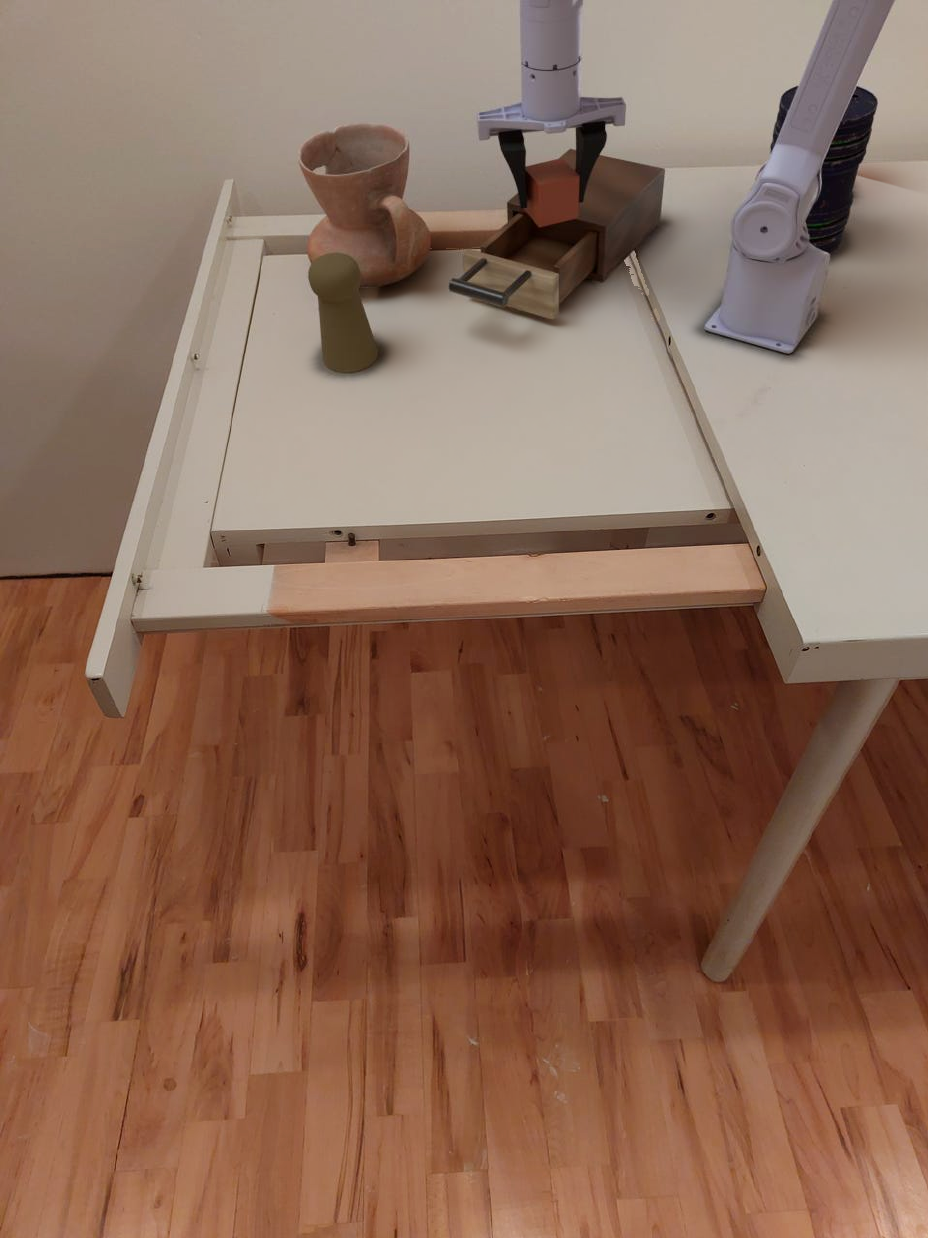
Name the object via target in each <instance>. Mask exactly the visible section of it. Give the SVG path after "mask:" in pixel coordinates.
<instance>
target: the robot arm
mask: <svg viewBox="0 0 928 1238" xmlns="http://www.w3.org/2000/svg"><path fill="white" fill-rule="evenodd" d="M895 3H896V0H832V1H831V4H830V6H829V9H828V11H827V14H826V16H825V19H824V21H823V24H822V26H821V29H820V31H819V33H818V36H817V39H816V41H815V44H814V46H813V48H812V51H811V53H810V57H809V58H808V61H807V63H806V66H805V69H804V71H803V74H802V76H801V79H800V81H799V84H798V85H797V86H798V89H797V91H796V94H795V96H794V99H793V101H792V104H791V106H790V109H789V111H788V114H787V116H786V119H785V121H784V124H783V126H782V129H781V131H780V134H779V136H778V139H777V141H776V143H775V146H774V148H773V150H772V152H771V154H770V153H769V157H768V158H767V160H766V161H765V162H764V163H763V164H762V165H761V166H760V168H759V170H758V172H757V174H756V177H755V179H754V182H753V184H752V185H751V187H750V188H749V191H748V193H747V194H746V196H745V198H744V199H743V201H742V202H741V203H740V204H739V205H738V207H737V208H736V210H735V212H734V213H733V215H732V218H731V223H730V231H731V243H730V250H729V255H728V262H727V268H726V275H725V280H724V287H723V292H722V297H721V303H720V305H719V307H718V308H717V309H716V310H715V311H714V313H713V314H712V315H711V317H710V318H709V319H708V320H707V322H705V324H704V327H703V329H704V331H706V332H710V333H713V334H717V335H721V336H723V337H727V338H730V339H734V340H738V341H742V342H745V343H749V344H753V345H755V346H760V347H761V348H762V347H763V348H766V349H770V350H773V351H777V352H781V353H784V354H791V353H793V352H794V350H795V349H796V348H797V346H798V345H799V343H800V342H801V340H802V339H803V338H804V336H805V335H806V333H807V332H808V330H809V329H810V328H811V326H812V324H813V323H814V322H815V320H816V319H817V318H818V315H819V312H818V311H819V307H820V302H821V299H822V295H823V290H824V287H825V283H826V280H827V275H828V271H829V268H830V262H831V254H829V253H827V252H825V251H822V250H820V249H818V248H816V247H815V246H813V245H812V244H811V243H810V242H809V238H810V237H809V234H808V229H807V226H806V222H805V220H806V218H807V216H808V214H809V212H810V210H811V208H812V206H813V205H814V203H815V202H816V201H817V199H818V196H819V194H820V191H821V185H822V181H821V168H822V164H823V161H824V159H825V157H826V154H827V152H828V150H829V147H830V144H831V142H832V140H833V137H834V135H835V133H836V131H837V129H838V126H839V124H840V122H841V120H842V117H843V115H844V113H845V111H846V109H847V106H848V104H849V102H850V100H851V98H852V95H853V93H854V91H855V89H856V86H857V84H858V83H859V82H860V80H861V77H862V75H863V74H864V71H865V69H866V66H867V64H868V62H869V60H870V57H871V56H872V54H873V51H874V49H875V47H876V44H877V42H878V40H879V38H880V35H881V33H882V31H883V29H884V27H885V24H886V22H887V20H888V18H889V16H890V13H891V11H892V9H893V7H894V5H895ZM583 17H584V0H519V34H520V35H519V36H520V39H519V40H520V41H519V43H520V80H521V81H520V85H521V87H520V88H521V101H520V102H517V103H513V104H510V105H506V106H505V105H504V106H502V107H498V108H494V109H490V110H484V111H477V112H476V124H477V125H476V127H477V135H478V136H477V137H478V140H479V141H488V140H490V139H491V137H497V138H498V144H499V148H500V151H501V153H502V154H501V155H502V156H503V158H504V159H505V161H506V163H507V165H508V168H509V170H510V173H511V175H512V177H513V180H514V183H515V187H516V189H517V193H518V199H519V204H520V208H521V209H522V208H527V192H526V181H525V168H526V166H527V165H526V163H527V161H526V160H527V148H526V146H525V137H524V135H523V134H527V133H528V134H529V133H537V132H544V133H545V134H548V135H550V134H552V135H553V134H559V133H565V132H566V131H567V130H568V129H575V150H576V166H575V171H576V172H577V173H578V175H579V176H580V177H579V203H580V202H583V201H584V195H585V191H586V187H587V184H588V180H589V177H590V175H591V172H592V169H593V167H594V165H595V163H596V161H597V159H598V157H599V155H601V153H602V151H603V150H604V148H605V146H606V144H607V139H608V133H607V130H606V125H612V126H614V127H624V126H625V125H626V115H627V114H626V113H627V104H626V101H625V99H624V97H622V96H620V97H619V96H618V97H593V96H592V97H591V96H581V92H582V91H581V90H582V89H581V87H582V86H581V85H582V54H583V53H582V52H583V22H584V21H583Z"/></svg>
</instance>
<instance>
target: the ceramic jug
mask: <svg viewBox="0 0 928 1238" xmlns="http://www.w3.org/2000/svg"><path fill="white" fill-rule="evenodd" d="M297 153H298V154H297V161H298V164H299V167H300V170H301V173H302V175H303V177H304V180H305V182H306V184H307V185H308V188H309V189H310V192H312V194H313V196H314V198H315V200H316V202H317V203H318V204H319V206H320V208H321V209H322V211H323V212H324V214H325V216H324V217H323V218H322V219H321V220H320V221H319V222H318V223H317V224H316V225H315V226H314V227H313V229H312V230H311V233H310V235H309V237H308V240H307V246H306V253H307V256H308V259H309V262H310V265H311V264H312V262H313V261H314V260H315V259H317V258H318V257H320V256H322V255H325V254H329V253H343V254H347V255H349V256H351V257H352V258H353V259H354V260H355V261H356V262H357V264H358V266H359V269H360V272H361V283H360V287H359V288H358V289H366V288H378V287H383V286H387V285H391V284H395V283H397V282H400V281H402V280H404V279H406V278H408V277H409V276H410V275H411V276H412V274H414V273H415V272H416V271H417V270H418V269H419V268H420V267H421V266H422V265H423V264H424V262H425V261H426V260H427V258H428V256H429V253H430V251H431V247H432V246H431V245H432V237H431V233H430V229H429V227H428V225H427V223H426V222H425V220H424V219H423V218H422V216H420V215H419V214H418V213H417V212H416V211H414V210H412V209H411V208H410V207H409V206H408V204H407V202H406V201H405V200H403V198H404V195H405V192H406V191H405V190H406V186H407V181H408V176H409V167H410V166H409V165H410V140H409V137H408V135H407V134H406V133H405V132H404V131H403V130H402V129H401V128H398V127H396V126H393V125H391V124H390V125H389V124H387V123H379V122H378V123H376V122H353V123H346V124H341V125H338V126H335V127H334V128H333V130H332V131H331V130H327V129H323V130H321V131H319V132H317V133H315V134H313V135H312V136H310V137H309V138H307V139H306V140H305V141H304V142H303V143H302V144H301V146H300V147H299V149H298V152H297ZM322 167H324V168H325V171H324V173H319V172H316V171H315V170H316V169H319V168H322Z"/></svg>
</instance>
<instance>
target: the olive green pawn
mask: <svg viewBox="0 0 928 1238" xmlns="http://www.w3.org/2000/svg"><path fill="white" fill-rule="evenodd" d="M307 273H308V275H307V279H308V283H309V285H310V288H311V291H312V292H313V293H314V294H315V295H316V296H317V302H318V317H319V329H320V331H319V332H320V344H321V355H322V362H323V365H324V366H325V367H326V368H327V369H329V370H330V371H333V372H335V373H341V374H351V373H356V372H361V371H362V370H365V369H367V368H369V367H370V366H372V365H373V364H374V363H375V362H376V361H377V359H378V358H379V350H378V346H377V343H376V340H375V337H374V333H373V331H372V328H371V325H370V321H369V318H368V316H367V313H366V310H365V306H364V303H363V301H362V298H361V294H360V292H359V289H360V288H359V287H360V283H361V272H360V269H359V266H358V264H357V262H356V261H355V260H354V259H353V258H352V257H351V256H349V255H347V254H343V253H329V254H325V255H322V256H320V257H318V258H317V259H315V260H314V261H313V262H312V264H311V263H310V266H309V269H308V271H307Z"/></svg>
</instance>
